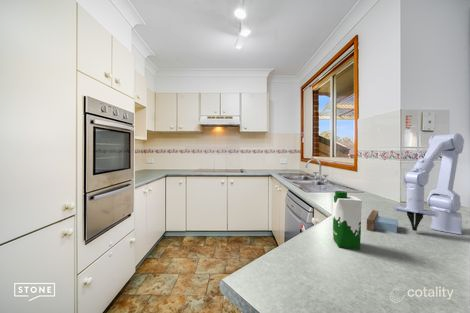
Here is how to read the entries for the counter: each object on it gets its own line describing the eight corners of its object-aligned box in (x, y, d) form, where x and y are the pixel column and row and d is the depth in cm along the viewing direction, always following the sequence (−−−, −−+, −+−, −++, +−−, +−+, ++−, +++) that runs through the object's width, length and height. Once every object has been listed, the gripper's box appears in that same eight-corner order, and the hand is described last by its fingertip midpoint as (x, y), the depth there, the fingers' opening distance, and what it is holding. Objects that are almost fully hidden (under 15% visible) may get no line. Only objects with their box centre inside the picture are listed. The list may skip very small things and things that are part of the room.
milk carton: (330, 238, 82) (331, 189, 82) (354, 240, 80) (355, 190, 80) (336, 248, 74) (337, 193, 73) (364, 251, 72) (365, 195, 72)
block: (397, 227, 97) (397, 219, 96) (396, 233, 89) (396, 224, 89) (377, 223, 102) (377, 216, 102) (374, 229, 94) (374, 220, 94)
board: (378, 220, 106) (378, 211, 106) (373, 231, 91) (373, 220, 91) (372, 219, 107) (372, 210, 107) (366, 230, 92) (366, 219, 92)
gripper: (393, 198, 91) (393, 228, 91) (439, 203, 81) (438, 237, 81) (394, 195, 96) (393, 224, 96) (437, 200, 87) (436, 232, 87)
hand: (414, 229), depth 89 cm, fingers closed
